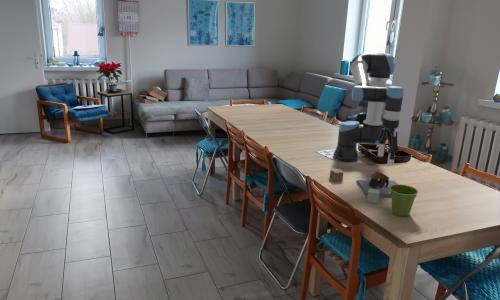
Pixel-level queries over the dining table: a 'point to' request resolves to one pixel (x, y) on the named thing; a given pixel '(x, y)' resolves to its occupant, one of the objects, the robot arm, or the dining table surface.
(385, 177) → the pottery mug
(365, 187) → the slate mat
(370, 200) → the sage block
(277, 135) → the dining table surface
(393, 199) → the plant pot
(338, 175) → the walnut block
